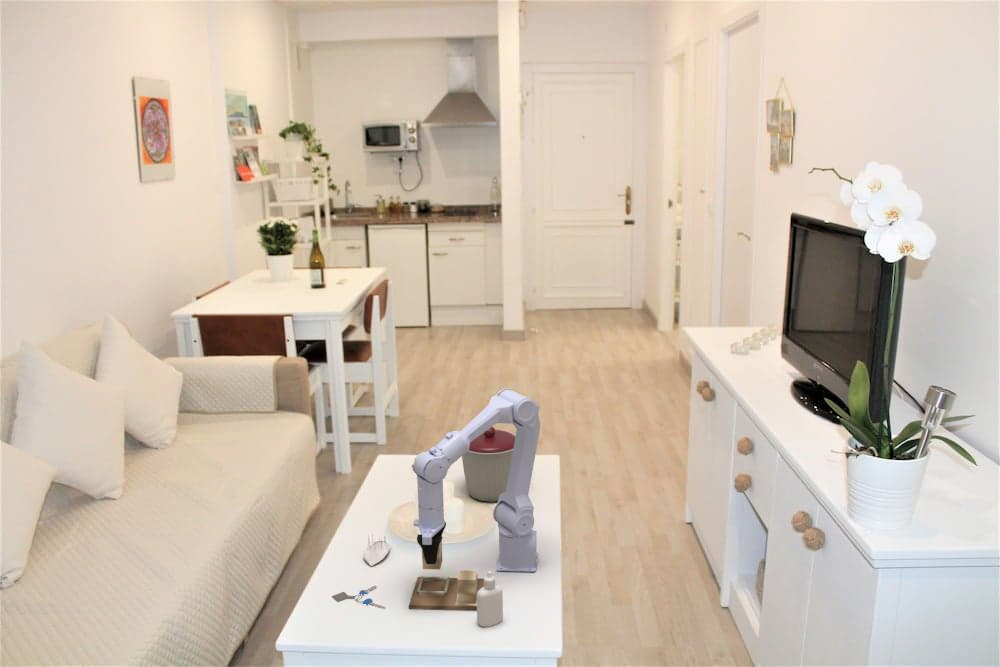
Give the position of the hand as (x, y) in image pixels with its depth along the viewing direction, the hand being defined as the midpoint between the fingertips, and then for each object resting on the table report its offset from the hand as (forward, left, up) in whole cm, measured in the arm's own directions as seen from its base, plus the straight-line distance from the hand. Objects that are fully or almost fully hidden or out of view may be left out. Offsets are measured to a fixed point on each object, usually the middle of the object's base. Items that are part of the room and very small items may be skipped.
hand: (432, 558), depth 192 cm
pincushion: (+17, -16, -9) cm, 25 cm away
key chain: (+16, +2, -9) cm, 19 cm away
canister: (-9, -54, -9) cm, 55 cm away
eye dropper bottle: (-14, +12, -9) cm, 20 cm away
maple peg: (0, 0, -2) cm, 2 cm away
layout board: (-4, +1, -8) cm, 9 cm away
